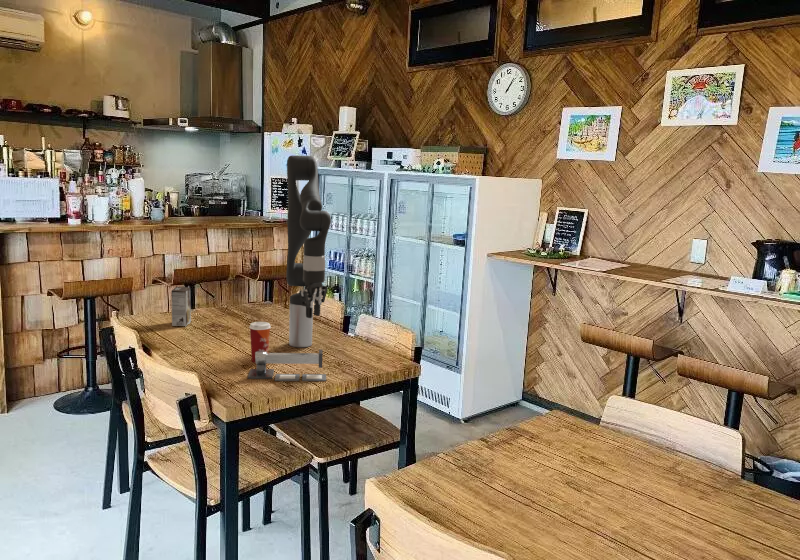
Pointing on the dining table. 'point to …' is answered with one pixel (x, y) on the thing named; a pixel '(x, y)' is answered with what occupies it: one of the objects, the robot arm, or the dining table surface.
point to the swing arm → (289, 358)
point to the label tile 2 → (314, 377)
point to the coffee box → (181, 306)
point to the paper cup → (259, 337)
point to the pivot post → (261, 372)
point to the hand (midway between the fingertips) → (313, 316)
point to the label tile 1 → (287, 377)
